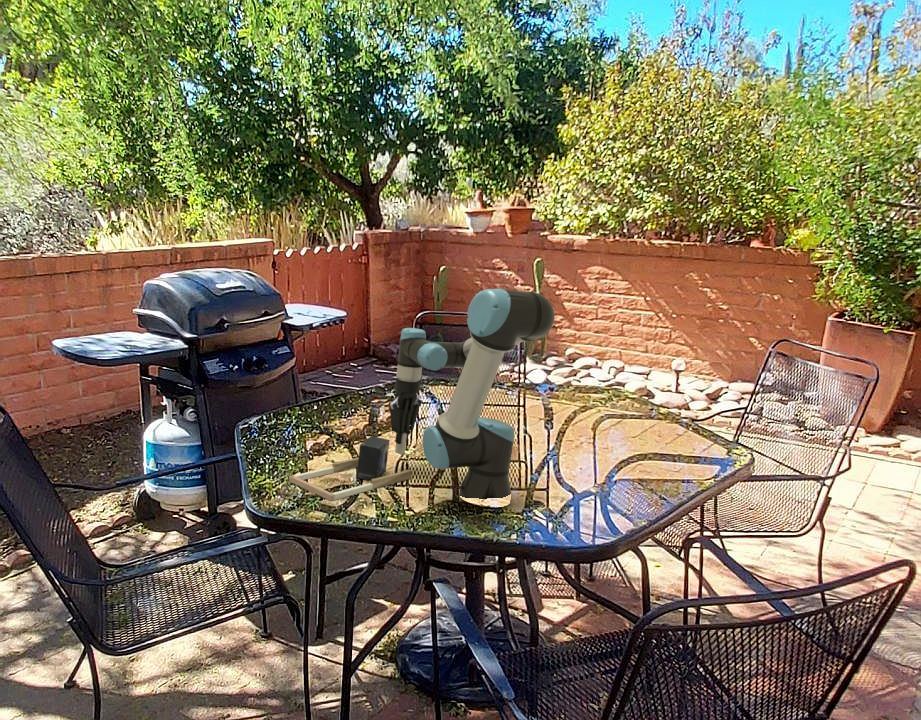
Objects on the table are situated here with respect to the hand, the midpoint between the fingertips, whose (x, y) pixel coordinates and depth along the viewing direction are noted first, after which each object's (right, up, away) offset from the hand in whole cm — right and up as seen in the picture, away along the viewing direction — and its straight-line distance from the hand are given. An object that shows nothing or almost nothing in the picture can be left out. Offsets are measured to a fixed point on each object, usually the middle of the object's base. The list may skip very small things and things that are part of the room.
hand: (399, 453), depth 231 cm
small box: (-8, -6, -8) cm, 13 cm away
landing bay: (-18, -6, -21) cm, 28 cm away
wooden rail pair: (-8, -6, -8) cm, 13 cm away
